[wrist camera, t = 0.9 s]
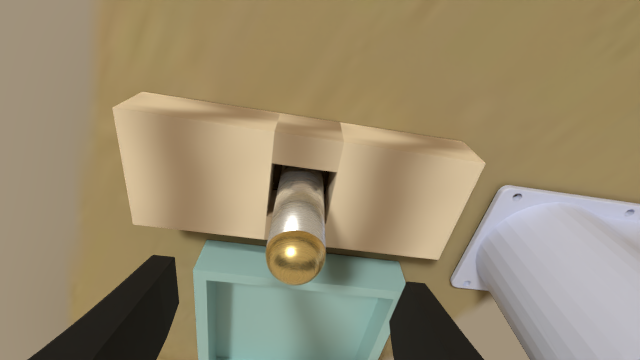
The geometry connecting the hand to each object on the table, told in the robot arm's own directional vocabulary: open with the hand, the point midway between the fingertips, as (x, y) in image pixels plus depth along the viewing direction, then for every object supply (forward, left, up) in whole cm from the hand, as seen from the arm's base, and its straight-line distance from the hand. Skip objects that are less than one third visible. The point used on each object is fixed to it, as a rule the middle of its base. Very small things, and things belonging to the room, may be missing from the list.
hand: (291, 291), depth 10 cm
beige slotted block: (0, 0, -8) cm, 8 cm away
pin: (0, 0, -8) cm, 8 cm away
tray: (-1, +12, -8) cm, 15 cm away
